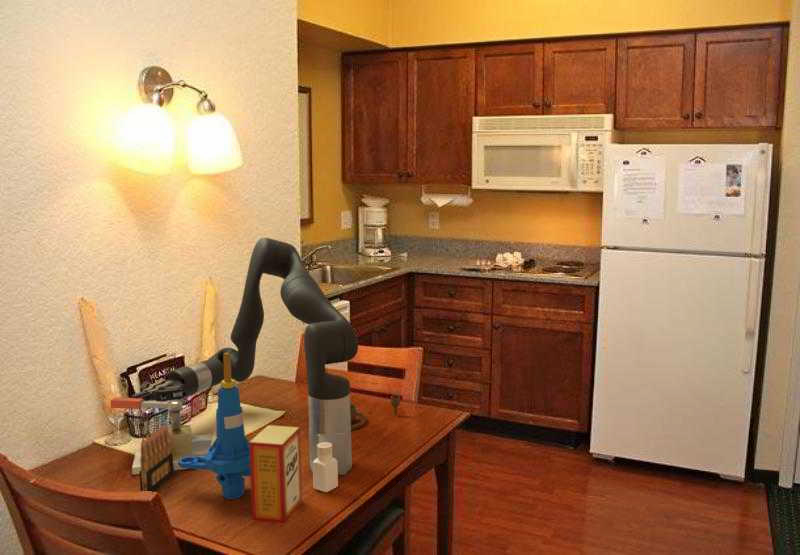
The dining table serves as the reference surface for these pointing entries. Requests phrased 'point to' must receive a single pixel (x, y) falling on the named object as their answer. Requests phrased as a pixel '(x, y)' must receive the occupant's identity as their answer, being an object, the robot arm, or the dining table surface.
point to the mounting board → (137, 464)
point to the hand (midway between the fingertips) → (133, 400)
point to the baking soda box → (275, 473)
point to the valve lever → (145, 404)
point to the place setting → (394, 402)
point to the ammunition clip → (156, 460)
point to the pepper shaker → (325, 468)
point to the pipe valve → (186, 439)
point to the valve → (226, 441)
